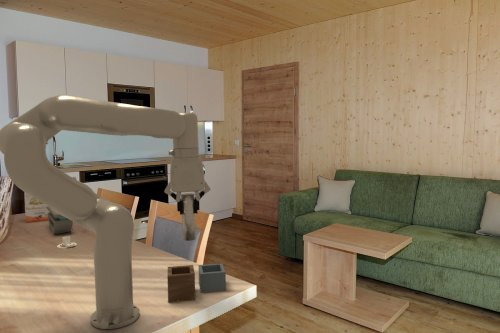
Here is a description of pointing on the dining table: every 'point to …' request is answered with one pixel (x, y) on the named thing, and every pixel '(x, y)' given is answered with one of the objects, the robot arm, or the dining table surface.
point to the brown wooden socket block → (181, 283)
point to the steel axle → (188, 216)
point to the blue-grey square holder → (212, 277)
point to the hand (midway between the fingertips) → (188, 212)
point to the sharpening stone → (58, 222)
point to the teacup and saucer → (67, 242)
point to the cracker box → (35, 209)
